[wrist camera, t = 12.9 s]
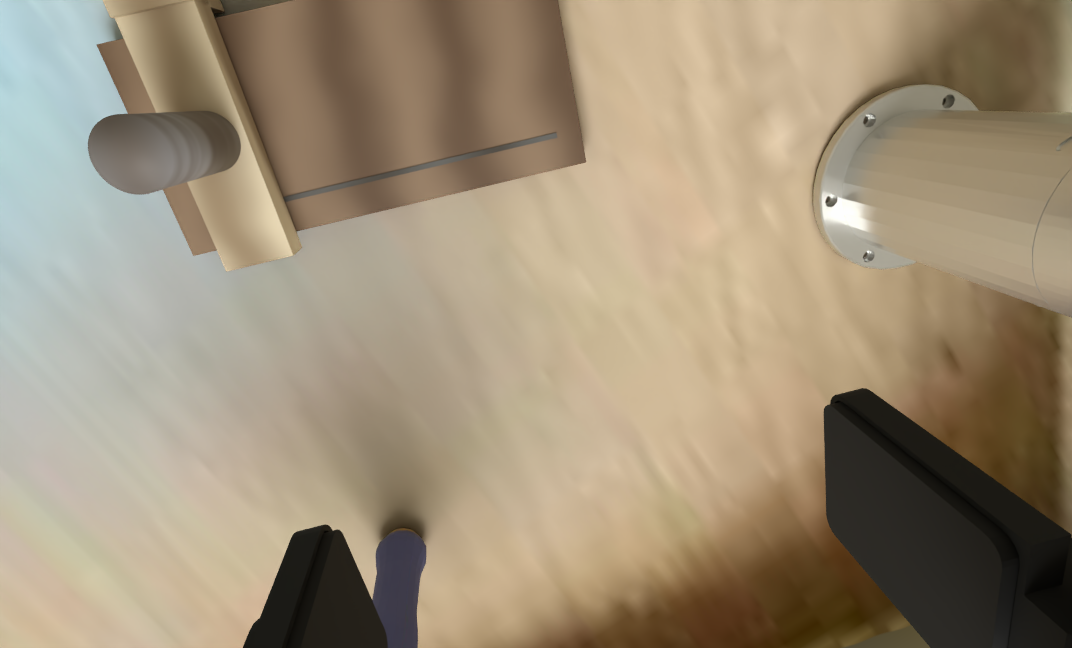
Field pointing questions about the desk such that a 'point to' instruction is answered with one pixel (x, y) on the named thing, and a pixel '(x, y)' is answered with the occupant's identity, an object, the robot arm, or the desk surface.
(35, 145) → the desk surface
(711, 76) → the desk surface
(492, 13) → the walnut board
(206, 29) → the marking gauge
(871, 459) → the robot arm
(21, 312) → the desk surface
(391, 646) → the rubber mallet
